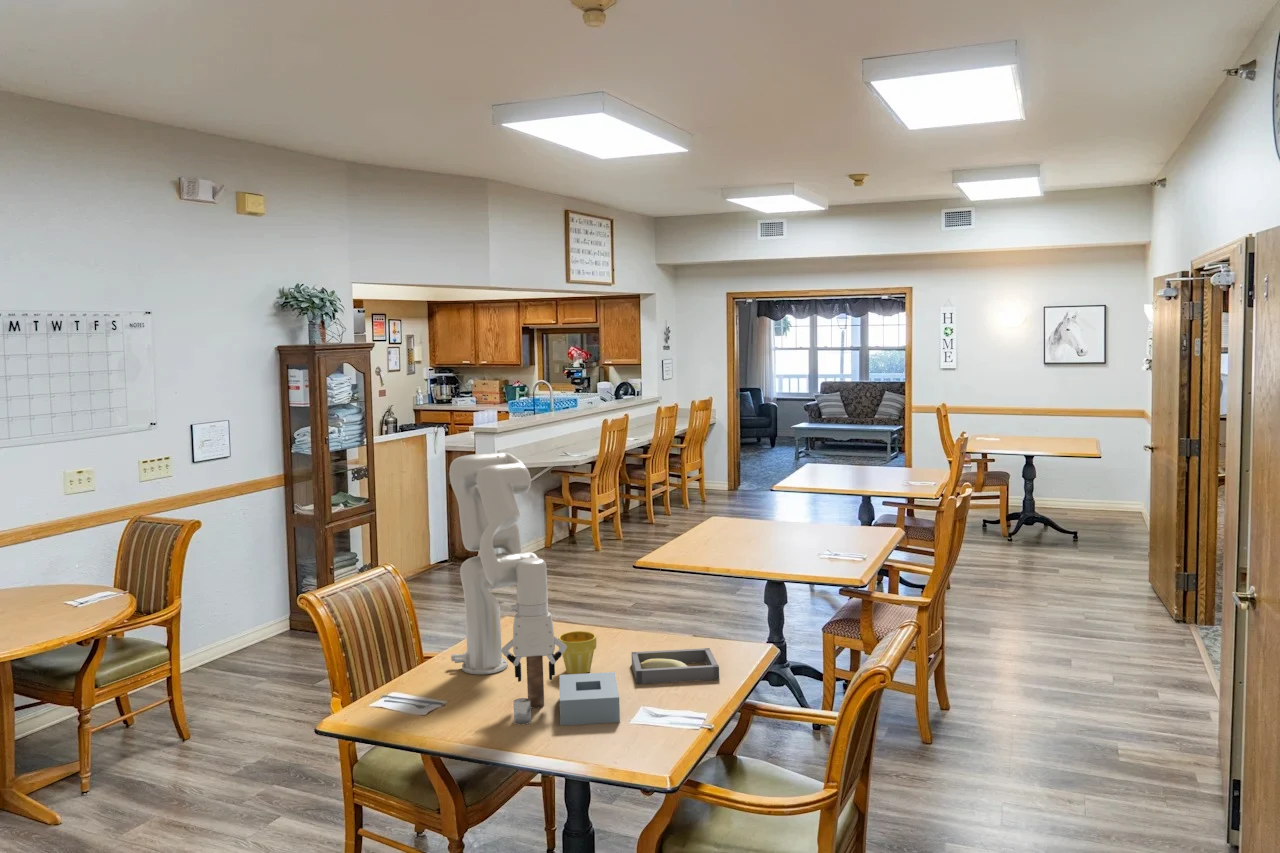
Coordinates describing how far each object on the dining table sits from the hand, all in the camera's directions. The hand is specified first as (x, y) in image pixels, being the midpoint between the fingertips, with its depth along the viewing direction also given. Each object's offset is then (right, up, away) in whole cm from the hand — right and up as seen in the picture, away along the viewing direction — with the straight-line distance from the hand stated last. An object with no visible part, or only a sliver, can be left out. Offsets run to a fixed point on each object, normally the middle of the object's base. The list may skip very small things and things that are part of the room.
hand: (535, 678), depth 236 cm
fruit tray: (+35, -4, +23) cm, 42 cm away
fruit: (+33, -5, +22) cm, 40 cm away
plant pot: (+9, -5, +25) cm, 27 cm away
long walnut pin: (0, -7, +1) cm, 7 cm away
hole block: (+14, -7, -3) cm, 15 cm away
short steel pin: (-2, -8, -10) cm, 13 cm away
